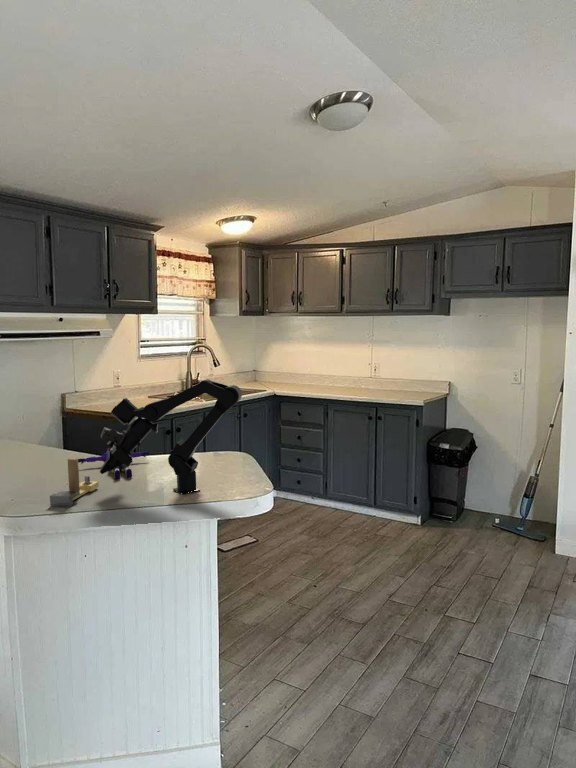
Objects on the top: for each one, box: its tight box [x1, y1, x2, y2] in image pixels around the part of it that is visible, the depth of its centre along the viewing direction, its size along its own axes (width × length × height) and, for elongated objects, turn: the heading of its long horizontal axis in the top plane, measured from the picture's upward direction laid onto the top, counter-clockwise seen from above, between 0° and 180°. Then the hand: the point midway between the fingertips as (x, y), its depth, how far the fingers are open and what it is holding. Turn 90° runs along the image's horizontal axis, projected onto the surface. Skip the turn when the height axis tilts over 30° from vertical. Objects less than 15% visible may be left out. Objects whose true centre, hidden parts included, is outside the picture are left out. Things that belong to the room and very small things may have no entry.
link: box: [67, 457, 100, 501], centre depth 174 cm, size 16×5×12 cm, turn 172°
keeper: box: [49, 490, 80, 508], centre depth 166 cm, size 6×6×3 cm
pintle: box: [83, 475, 95, 493], centre depth 179 cm, size 4×4×5 cm
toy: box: [78, 450, 151, 481], centre depth 206 cm, size 27×6×30 cm
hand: (100, 472), depth 174 cm, fingers closed
